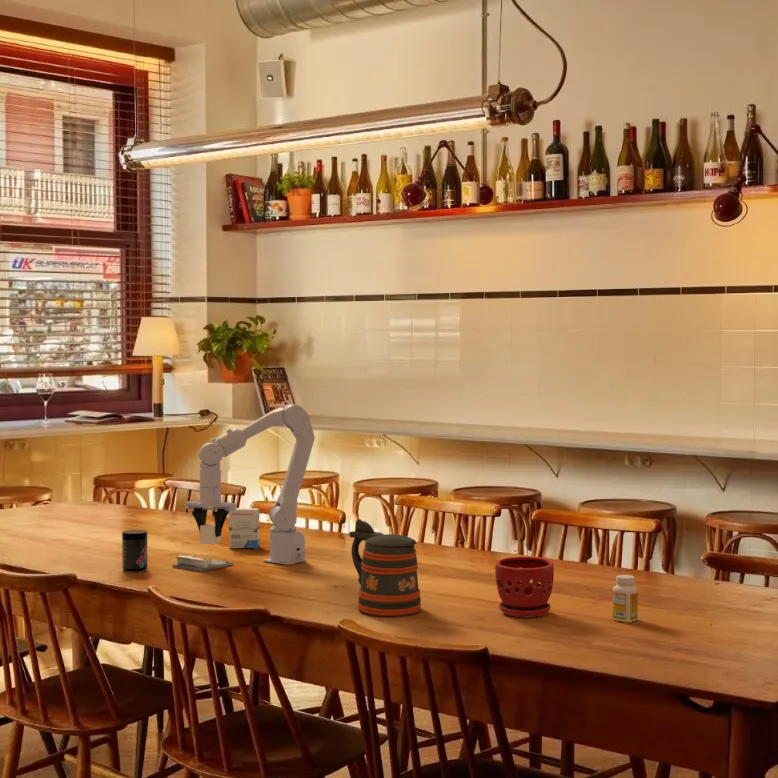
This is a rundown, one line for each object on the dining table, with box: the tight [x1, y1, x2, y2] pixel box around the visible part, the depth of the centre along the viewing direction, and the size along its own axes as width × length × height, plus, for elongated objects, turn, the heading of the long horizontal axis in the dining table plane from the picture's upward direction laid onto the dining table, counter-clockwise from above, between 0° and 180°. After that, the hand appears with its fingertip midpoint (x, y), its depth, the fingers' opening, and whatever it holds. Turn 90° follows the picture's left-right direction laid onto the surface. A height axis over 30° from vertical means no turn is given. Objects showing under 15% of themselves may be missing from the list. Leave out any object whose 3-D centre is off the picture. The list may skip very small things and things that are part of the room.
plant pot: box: [494, 556, 555, 618], centre depth 266 cm, size 13×13×12 cm
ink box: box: [228, 507, 261, 550], centre depth 352 cm, size 9×5×12 cm, turn 84°
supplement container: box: [121, 529, 149, 572], centre depth 317 cm, size 7×7×10 cm
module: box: [199, 522, 222, 545], centre depth 325 cm, size 4×5×5 cm
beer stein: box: [348, 518, 422, 618], centre depth 271 cm, size 19×15×20 cm
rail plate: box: [172, 555, 234, 573], centre depth 322 cm, size 11×12×3 cm
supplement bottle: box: [612, 574, 639, 621], centre depth 261 cm, size 5×5×10 cm
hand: (210, 535), depth 325 cm, fingers closed on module, 4 cm apart
